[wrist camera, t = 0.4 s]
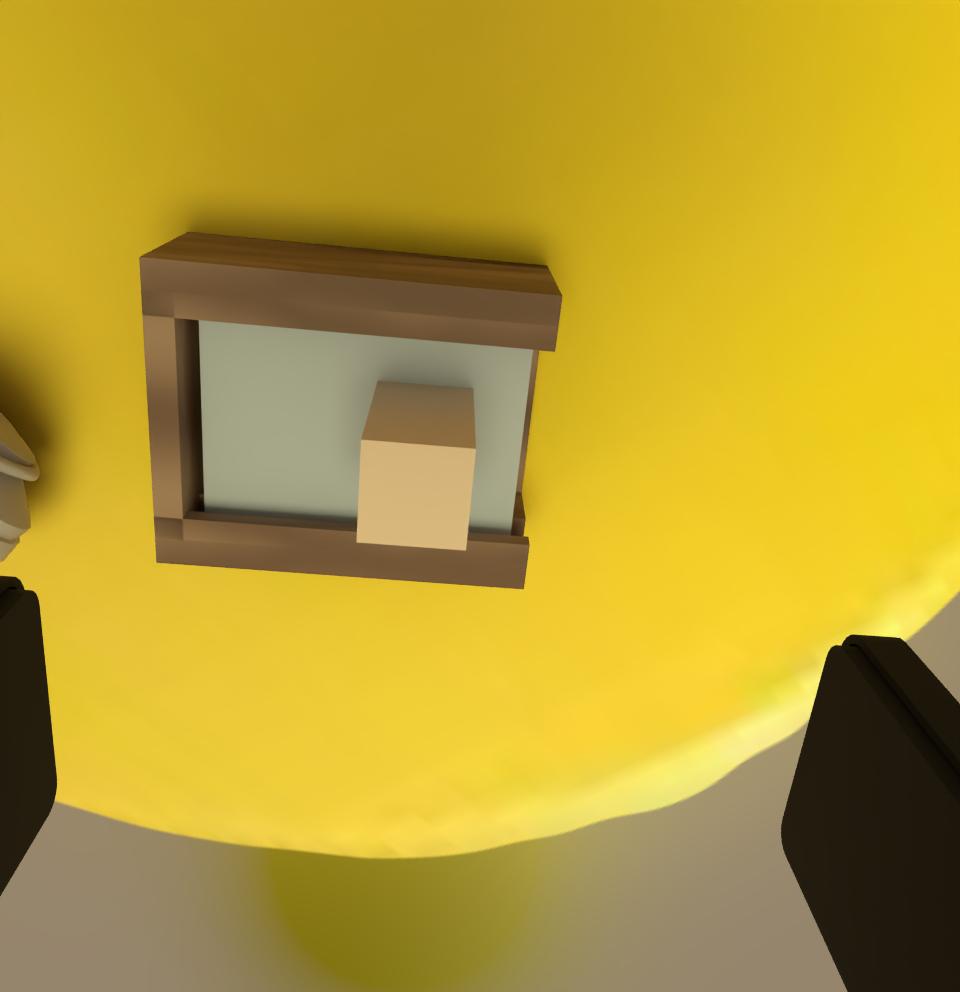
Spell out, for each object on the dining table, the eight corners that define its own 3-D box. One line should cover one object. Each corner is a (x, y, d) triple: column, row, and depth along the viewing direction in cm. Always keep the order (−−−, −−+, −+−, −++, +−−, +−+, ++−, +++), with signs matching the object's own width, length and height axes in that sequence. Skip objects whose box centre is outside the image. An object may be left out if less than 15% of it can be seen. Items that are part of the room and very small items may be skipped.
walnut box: (187, 232, 40) (139, 257, 34) (547, 265, 41) (562, 296, 35) (196, 499, 45) (156, 562, 39) (515, 524, 46) (523, 589, 40)
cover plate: (204, 290, 37) (141, 338, 30) (534, 319, 38) (552, 374, 31) (210, 507, 41) (156, 596, 34) (508, 529, 42) (519, 622, 34)
